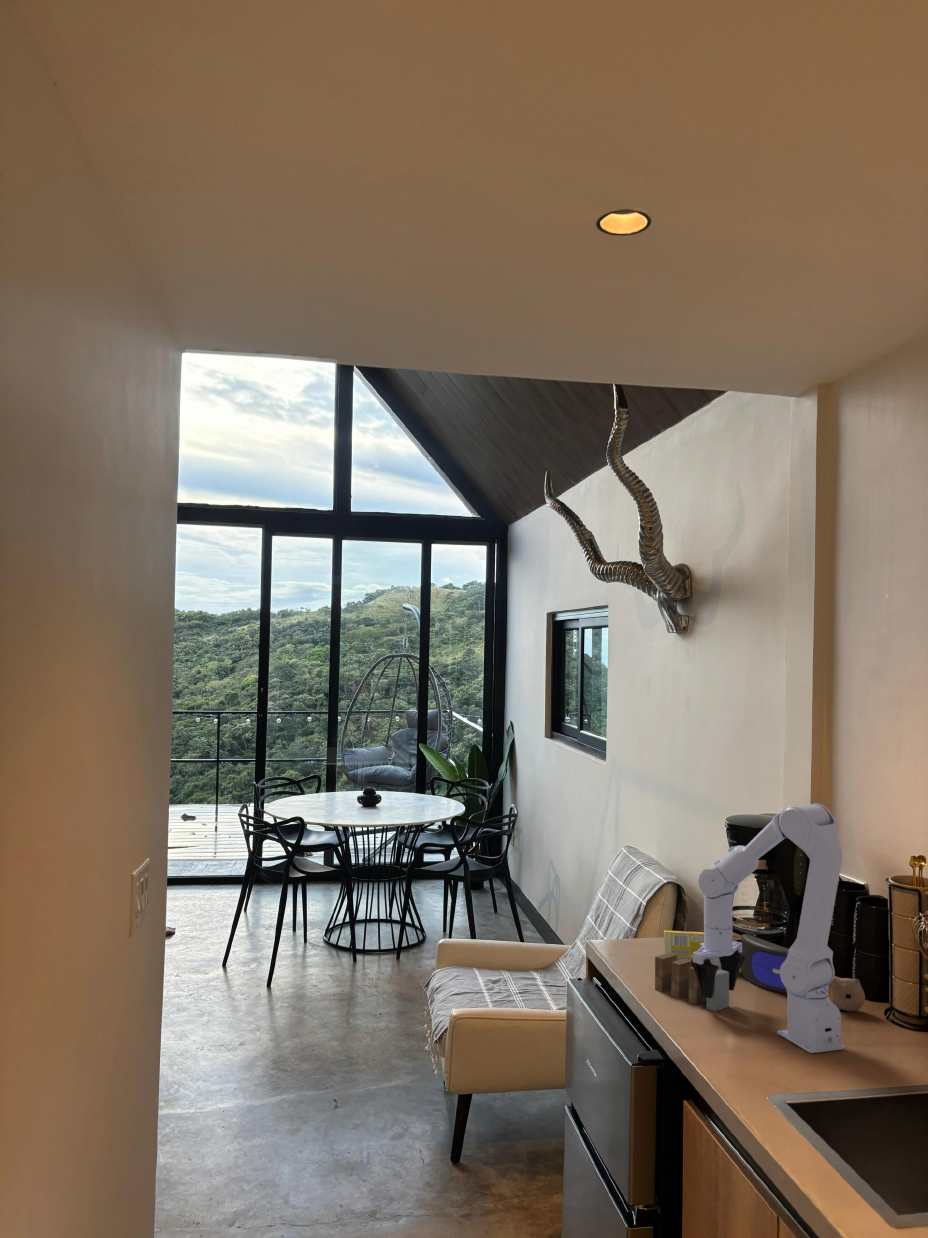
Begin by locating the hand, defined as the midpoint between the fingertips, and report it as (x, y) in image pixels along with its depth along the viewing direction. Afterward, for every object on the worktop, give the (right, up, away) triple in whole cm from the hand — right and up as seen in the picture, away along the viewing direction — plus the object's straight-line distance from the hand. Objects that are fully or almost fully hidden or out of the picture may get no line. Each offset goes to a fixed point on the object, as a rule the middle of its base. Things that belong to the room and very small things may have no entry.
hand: (717, 993), depth 177 cm
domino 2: (-6, -3, +7) cm, 9 cm away
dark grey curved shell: (+16, -5, +15) cm, 22 cm away
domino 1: (-8, -4, +10) cm, 14 cm away
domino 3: (-3, -3, +3) cm, 5 cm away
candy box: (+3, -5, +25) cm, 26 cm away
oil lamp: (+26, -4, 0) cm, 26 cm away
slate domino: (0, -3, 0) cm, 3 cm away
